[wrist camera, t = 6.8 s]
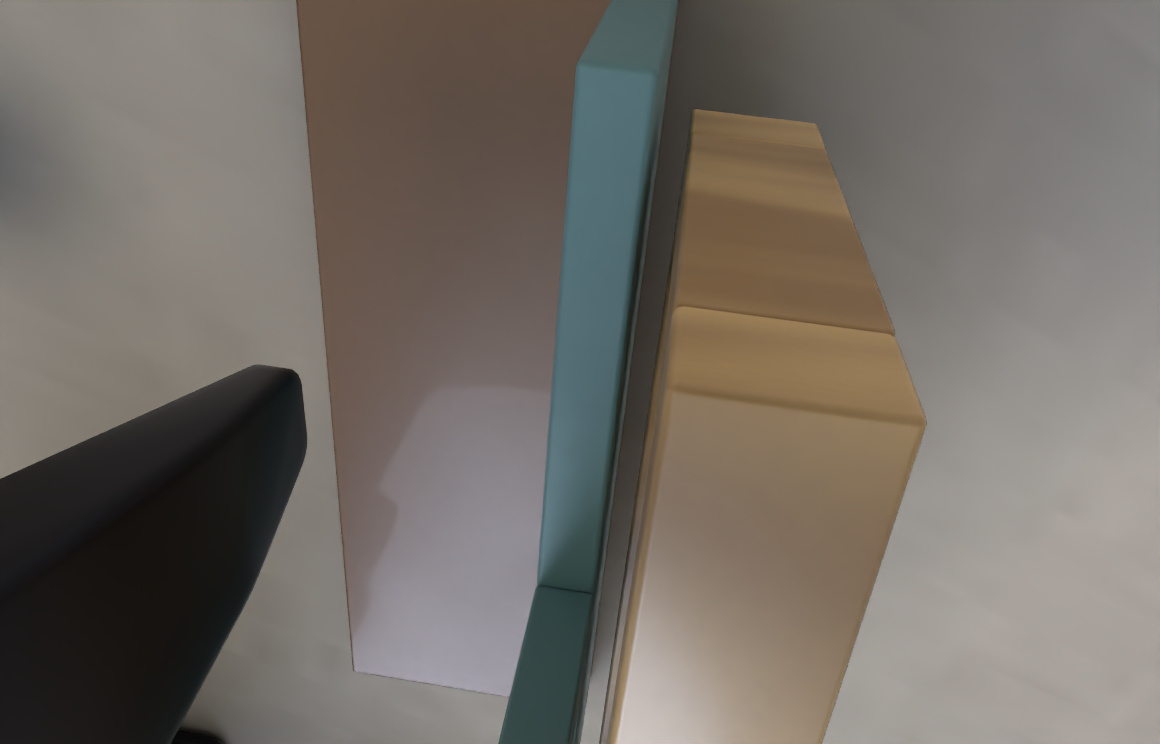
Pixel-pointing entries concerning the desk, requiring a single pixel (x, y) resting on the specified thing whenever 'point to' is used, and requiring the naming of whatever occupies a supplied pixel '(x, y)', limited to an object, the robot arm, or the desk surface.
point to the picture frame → (759, 452)
